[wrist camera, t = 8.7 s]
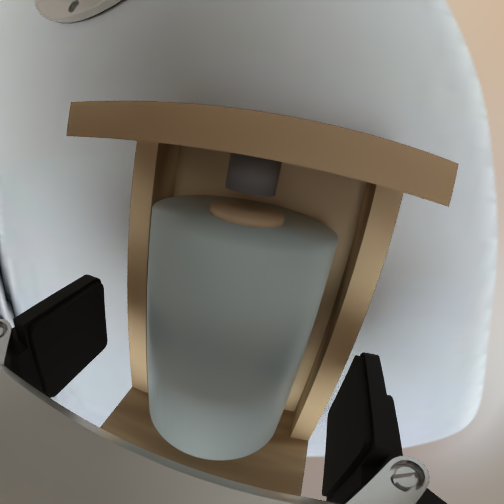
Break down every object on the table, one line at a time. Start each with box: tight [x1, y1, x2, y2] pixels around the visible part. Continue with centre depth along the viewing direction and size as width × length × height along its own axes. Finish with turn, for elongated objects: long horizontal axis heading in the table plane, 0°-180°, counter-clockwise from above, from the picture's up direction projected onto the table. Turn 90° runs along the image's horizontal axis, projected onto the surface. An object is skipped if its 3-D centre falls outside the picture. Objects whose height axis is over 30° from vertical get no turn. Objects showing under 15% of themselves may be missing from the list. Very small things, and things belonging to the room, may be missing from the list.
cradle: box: [67, 101, 458, 496], centre depth 12 cm, size 16×10×7 cm, turn 170°
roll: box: [147, 195, 338, 460], centre depth 12 cm, size 10×6×6 cm, turn 170°
